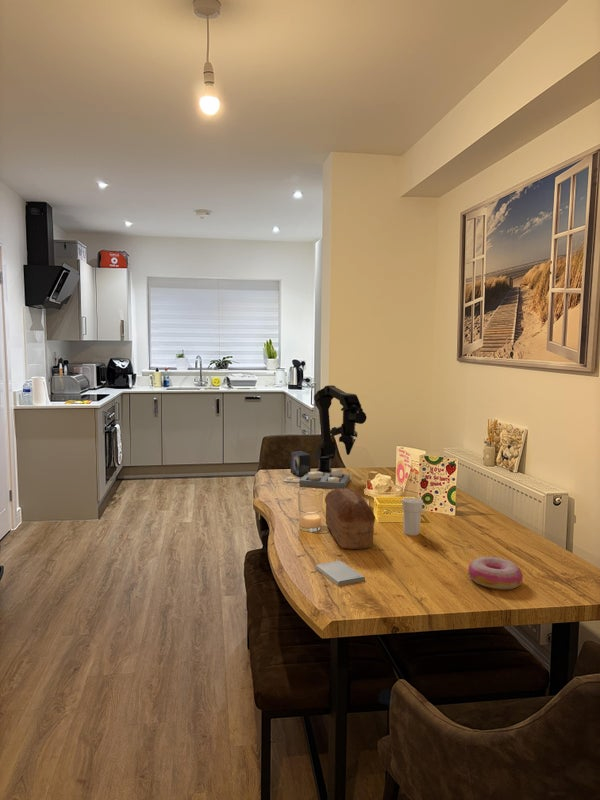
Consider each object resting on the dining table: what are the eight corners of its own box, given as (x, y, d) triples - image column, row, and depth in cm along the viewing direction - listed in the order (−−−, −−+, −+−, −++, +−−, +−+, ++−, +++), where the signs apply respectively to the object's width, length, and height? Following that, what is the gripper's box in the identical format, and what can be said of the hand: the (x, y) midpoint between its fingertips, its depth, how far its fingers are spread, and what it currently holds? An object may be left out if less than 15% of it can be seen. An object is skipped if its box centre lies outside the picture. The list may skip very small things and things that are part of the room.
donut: (470, 568, 153) (471, 550, 153) (522, 576, 148) (523, 558, 147) (465, 587, 141) (466, 568, 140) (521, 596, 135) (522, 577, 135)
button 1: (309, 477, 249) (309, 471, 249) (320, 478, 248) (320, 472, 248) (307, 480, 245) (307, 473, 244) (318, 481, 243) (318, 474, 243)
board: (290, 475, 263) (290, 470, 263) (349, 479, 256) (349, 474, 256) (280, 484, 245) (281, 478, 245) (344, 488, 239) (344, 483, 239)
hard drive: (365, 576, 143) (341, 559, 154) (337, 581, 140) (315, 564, 151) (365, 582, 143) (341, 565, 154) (337, 588, 140) (315, 570, 151)
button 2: (313, 477, 258) (313, 471, 258) (323, 478, 257) (323, 471, 257) (311, 479, 253) (311, 473, 253) (321, 480, 252) (321, 474, 252)
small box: (289, 472, 270) (289, 451, 269) (301, 471, 273) (301, 450, 272) (298, 477, 261) (298, 455, 260) (310, 475, 263) (311, 454, 263)
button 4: (332, 474, 256) (332, 468, 256) (342, 475, 255) (343, 469, 255) (330, 477, 251) (330, 470, 251) (341, 478, 250) (341, 471, 250)
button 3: (328, 483, 248) (329, 476, 247) (339, 483, 246) (340, 477, 246) (326, 485, 243) (327, 479, 242) (338, 486, 242) (338, 479, 241)
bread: (355, 522, 192) (356, 482, 191) (378, 551, 165) (379, 504, 163) (321, 523, 190) (322, 483, 189) (338, 553, 163) (340, 505, 162)
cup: (398, 534, 180) (400, 501, 179) (404, 528, 186) (405, 496, 185) (418, 537, 177) (420, 504, 177) (423, 531, 183) (424, 499, 182)
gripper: (334, 418, 264) (334, 450, 266) (328, 423, 246) (327, 457, 247) (358, 419, 262) (357, 451, 263) (353, 424, 244) (352, 458, 245)
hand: (348, 454), depth 255 cm, fingers closed
